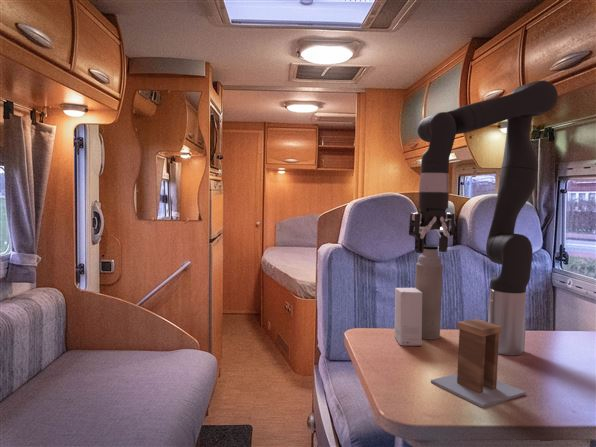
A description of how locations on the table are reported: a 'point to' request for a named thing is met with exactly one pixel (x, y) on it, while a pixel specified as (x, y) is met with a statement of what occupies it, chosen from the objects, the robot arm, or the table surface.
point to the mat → (480, 399)
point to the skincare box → (408, 316)
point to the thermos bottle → (430, 290)
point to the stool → (478, 354)
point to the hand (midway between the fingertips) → (431, 252)
